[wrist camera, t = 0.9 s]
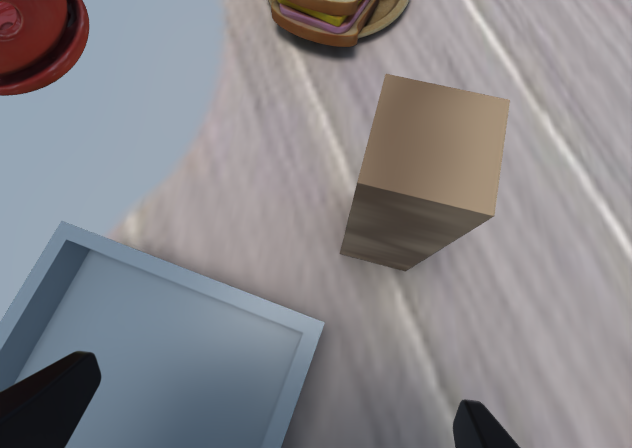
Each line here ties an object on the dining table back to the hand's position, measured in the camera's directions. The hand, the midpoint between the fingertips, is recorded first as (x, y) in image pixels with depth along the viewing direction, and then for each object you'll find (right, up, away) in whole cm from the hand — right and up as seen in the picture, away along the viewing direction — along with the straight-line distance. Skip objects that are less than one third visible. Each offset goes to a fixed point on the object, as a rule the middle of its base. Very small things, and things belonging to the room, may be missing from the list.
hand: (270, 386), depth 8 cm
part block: (+5, +3, +15) cm, 16 cm away
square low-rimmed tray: (-8, -6, +12) cm, 16 cm away
